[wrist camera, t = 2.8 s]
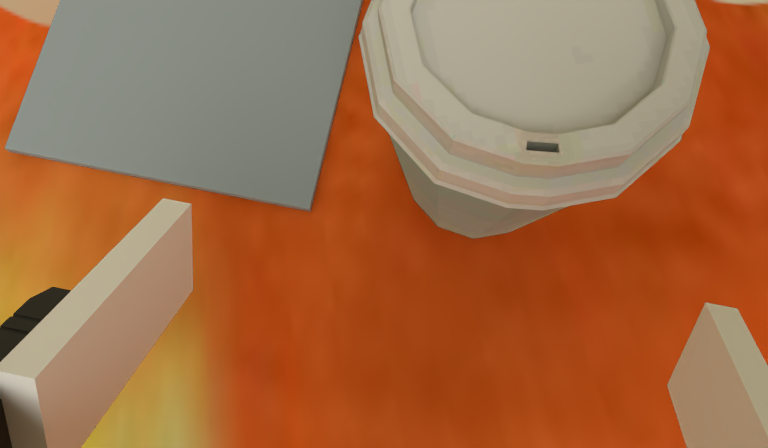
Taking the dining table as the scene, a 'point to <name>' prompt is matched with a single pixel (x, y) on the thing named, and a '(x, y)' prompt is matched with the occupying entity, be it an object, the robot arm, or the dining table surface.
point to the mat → (192, 92)
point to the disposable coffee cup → (529, 100)
